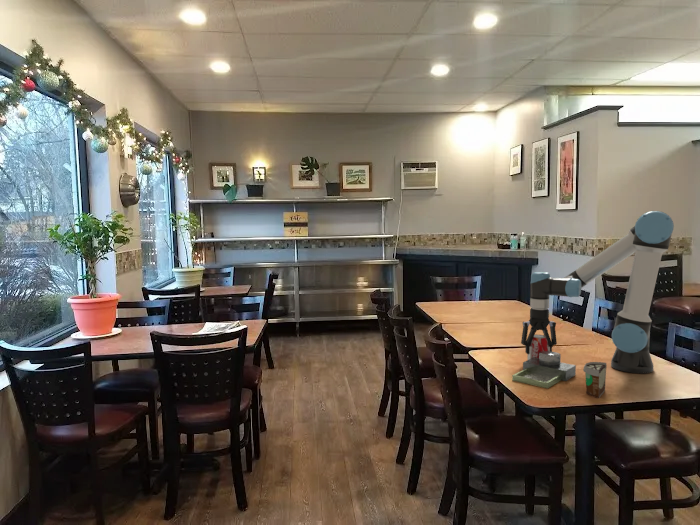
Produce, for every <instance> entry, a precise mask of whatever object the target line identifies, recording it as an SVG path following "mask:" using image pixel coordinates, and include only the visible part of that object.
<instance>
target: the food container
mask: <svg viewBox="0 0 700 525" xmlns="http://www.w3.org/2000/svg"><path fill="white" fill-rule="evenodd" d="M607 368H608V367H607V362H601V361H590V362H586V363H585V364H584V366H583V369H582V371H583V372H584V374H585V390H586V391H585V392H586V394H587V395H588V396H590V397H593V398H597V399H599V398H600V397H601V396H602V395H603V394H604V392H605V391H606V377H607Z"/></svg>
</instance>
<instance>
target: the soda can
mask: <svg viewBox="0 0 700 525" xmlns="http://www.w3.org/2000/svg"><path fill="white" fill-rule="evenodd" d="M530 346H531V347H532V358H533V357H535V358H539V352H542V351H548V341H547V339H546V336H544V334H535V335H534V337H533V340H532V342H531V345H530Z"/></svg>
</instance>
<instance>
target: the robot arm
mask: <svg viewBox="0 0 700 525" xmlns="http://www.w3.org/2000/svg"><path fill="white" fill-rule="evenodd" d="M674 227H675V226H674V221H673V219H672V217H671V216H670V215H669V214H667V213H665V212H663V211H659V210H651V211H646V212H645V213H642V214H641V215H640V216H639V218H637V220H636V222H635V225H634V226H633V227H632V228H629V230H628V232H627V234H626V235H624V236H623V237H621V238H620V239H618V240H617V241H615V242H614V243H613V244H611V245H610V246H608V247H607V248H604V250H602V251H601V252H600V253H598V254H596V255H595V256H594V257H593V258H591V259H590V260H588V261H586V262H585V263H584V264H583V265H581V266H579V267H578V268H577V269H574V271H572V272H571V273H569V274H567V275H566V276H565V277H553V276H552V277H551V274H550V272H547V271H546V272H545V271H544V272H543V271H535V272H532V273H531V275H530V282H529V284H530V298H529V299H530V300H529V302H530V303H529V304H530V305H529V306H530V309H529V320H528V321H522V327H523V328H522V333H521V334H522V335H521V341H520V344H521V345H522V346H525V354H526V355H527V360H529V359H531V358H532V347H531V346H530V345H531V342H532V340H533V337H534V335H536V332H537V331H542V333H543V335H544V336H546V339H547V341H548V351H552V352H553V347H554V346H557V344H558V343H557V334H556V325H557V323H556V322H555V321H553V320H551V321H550V318H549V317H550V316H549V315H550V309H549V308H550V296H554V297H555V296H556V297H557V296H558V297H568V298H579V297H580V295H581V294H582V288H584V287H585V286H586V285H588V284H589V283H591V282H592V281H594V280H595V279H597V278H599V277H600V276H601V275H603V274H605V273H606V272H608V271H609V270H611V269H612V268H614V267H615V266H617V265H618V264H620V263H621V262H623V261H624V260H626V259H627V258H629V257H631V256H632V255H634V257H633V261H632V266H631V272H630V274H629V275H630V276H629V280H628V285H627V289H626V292H625V293H626V294H625V297H624V298H625V299H624V303H623V307H622V310H620V311H618V312H617V314H616V317H615V318H616V319H615V321H614V322H615V323H614V327H613V330H612V332H611V340H612V343H613V344H614V346H615V349H614V350H615V351H614V353H613V354H612V358H611V359H610V367H612V368H613V369H615V370H616V371H617V370H618V371H620V372H624V373H630V374H631V373H632V374H650V372H651V373H653V372H654V362H653V359H652V356H651V354H650V337H651V336H650V334H651V332H650V331H651V325H652V321H653V320H652V318H651V317H650V314H649V313H650V308H651V305H652V300H653V295H654V292H655V287H656V282H657V278H658V275H659V274H658V273H659V270H660V265H661V261H662V256H663V254H664V253H665V252H667V251H669V249H670V248H669V247H670V243H671V239H672V234H673V231H674ZM530 326H531V327H530ZM548 326H549V329H550V330H549V331H550V334H549V331H548V328H547V327H548ZM529 327H530V331H529ZM528 332H529V334H528ZM527 360H526V361H527ZM652 371H653V372H652Z"/></svg>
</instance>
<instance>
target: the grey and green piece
mask: <svg viewBox="0 0 700 525" xmlns="http://www.w3.org/2000/svg"><path fill="white" fill-rule="evenodd" d="M561 357H562V356H561V353H559V352H556V351H553V350H552V351H542V352H539V358H535V357H533V358H531V359H529V360H525V361H523V362H522V370H521V371H517V372H516V373H514V374H511V375H512V376H511V378H512V379H511V380H512V382H513V381H514V382H518V383H522V384H525V385H531V386H534V387H539V388H543V389H549V388H551V387H552V386H554V385H556V384H557V383H560V381H562V382H567V381H569V380H570V379H572V378H573V377H575V376H576V375H577V374H576V372H577V368H576V367H577V365H576V364H570V363H565V362H561V359H562V358H561Z"/></svg>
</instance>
